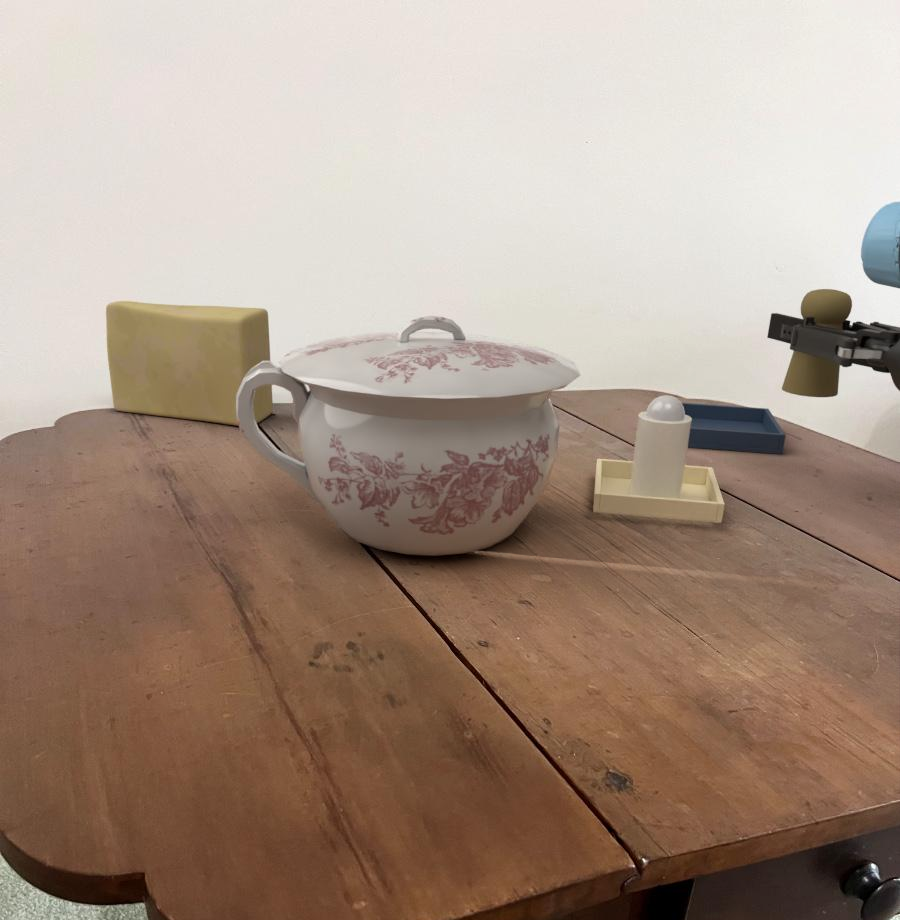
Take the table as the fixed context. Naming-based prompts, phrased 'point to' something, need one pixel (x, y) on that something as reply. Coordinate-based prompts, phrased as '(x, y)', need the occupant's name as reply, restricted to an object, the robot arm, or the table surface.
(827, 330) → the robot arm
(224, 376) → the cheese
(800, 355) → the olive tapered knobbed cylinder
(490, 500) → the chamber pot
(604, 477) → the light tray
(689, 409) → the dark tray
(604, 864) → the table surface
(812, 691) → the table surface
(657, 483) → the salt shaker
